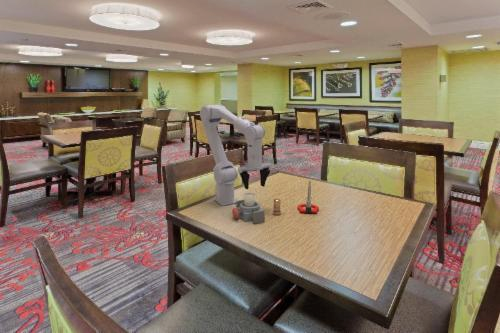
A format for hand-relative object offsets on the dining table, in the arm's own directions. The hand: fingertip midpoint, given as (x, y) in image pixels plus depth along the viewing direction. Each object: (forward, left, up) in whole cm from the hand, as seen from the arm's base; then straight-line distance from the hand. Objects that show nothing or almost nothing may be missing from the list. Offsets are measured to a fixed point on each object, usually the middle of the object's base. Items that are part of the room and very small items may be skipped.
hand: (254, 187), depth 134 cm
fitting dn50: (+4, -5, -7) cm, 9 cm away
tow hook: (+10, +20, -11) cm, 25 cm away
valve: (+4, -6, -10) cm, 13 cm away
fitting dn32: (+7, +6, -10) cm, 14 cm away
